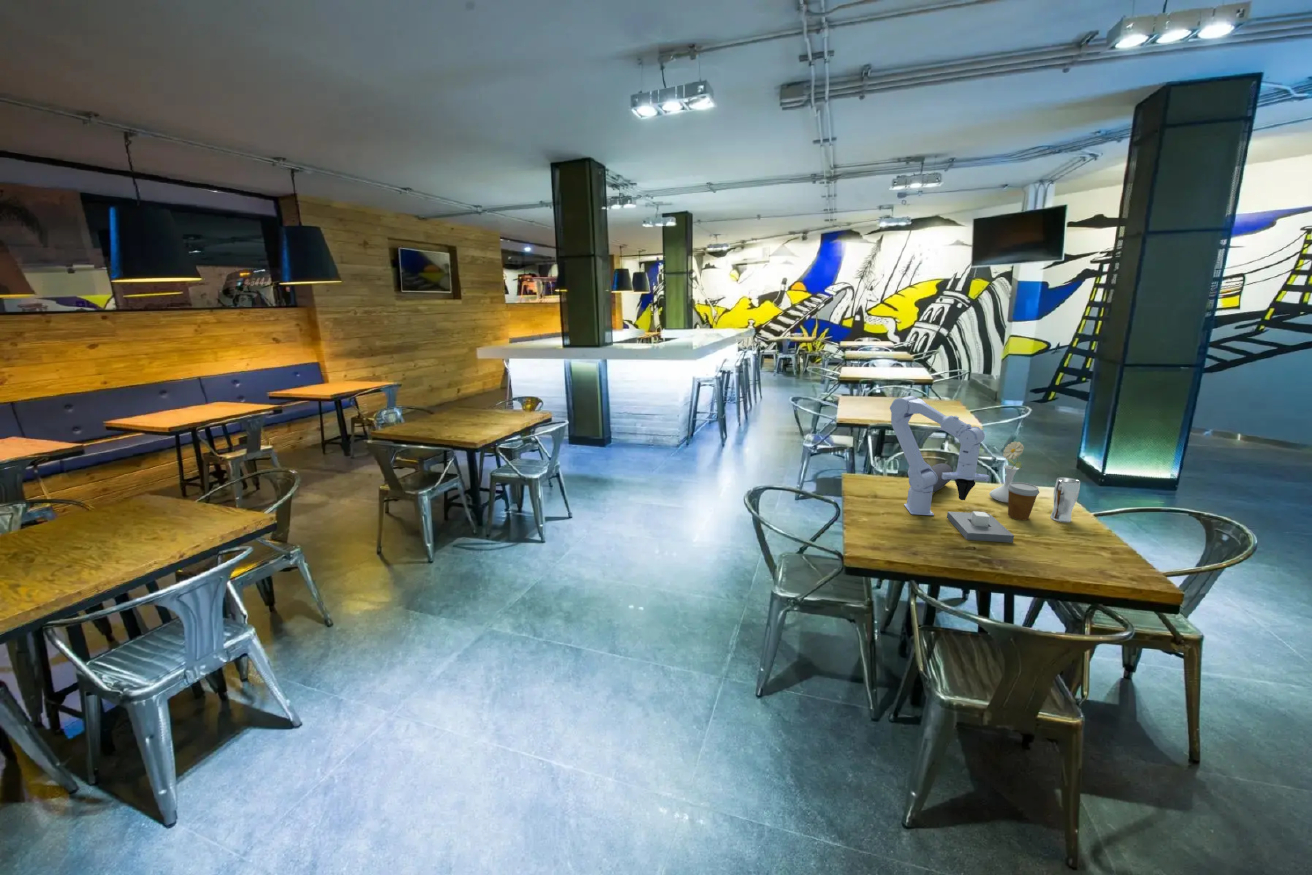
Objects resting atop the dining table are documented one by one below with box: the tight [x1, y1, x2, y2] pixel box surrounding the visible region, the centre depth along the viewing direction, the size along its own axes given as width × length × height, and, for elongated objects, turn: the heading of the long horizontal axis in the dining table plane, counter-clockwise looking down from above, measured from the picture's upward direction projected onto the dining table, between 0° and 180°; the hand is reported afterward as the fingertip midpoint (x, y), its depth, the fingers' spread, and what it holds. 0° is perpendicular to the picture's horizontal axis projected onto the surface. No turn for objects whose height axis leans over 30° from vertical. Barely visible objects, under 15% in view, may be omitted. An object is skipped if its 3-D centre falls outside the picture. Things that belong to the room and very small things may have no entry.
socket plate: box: [946, 511, 1015, 544], centre depth 179 cm, size 18×14×2 cm
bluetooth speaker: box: [931, 462, 954, 494], centre depth 215 cm, size 23×9×10 cm, turn 133°
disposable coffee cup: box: [1007, 481, 1040, 521], centre depth 188 cm, size 10×10×12 cm
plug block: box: [971, 510, 990, 527], centre depth 178 cm, size 4×4×6 cm
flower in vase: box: [989, 440, 1025, 504], centre depth 201 cm, size 13×11×25 cm
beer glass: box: [1050, 476, 1081, 524], centre depth 185 cm, size 7×7×15 cm
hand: (961, 499), depth 182 cm, fingers closed
